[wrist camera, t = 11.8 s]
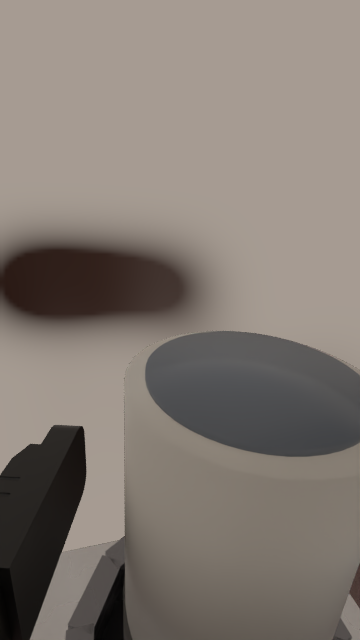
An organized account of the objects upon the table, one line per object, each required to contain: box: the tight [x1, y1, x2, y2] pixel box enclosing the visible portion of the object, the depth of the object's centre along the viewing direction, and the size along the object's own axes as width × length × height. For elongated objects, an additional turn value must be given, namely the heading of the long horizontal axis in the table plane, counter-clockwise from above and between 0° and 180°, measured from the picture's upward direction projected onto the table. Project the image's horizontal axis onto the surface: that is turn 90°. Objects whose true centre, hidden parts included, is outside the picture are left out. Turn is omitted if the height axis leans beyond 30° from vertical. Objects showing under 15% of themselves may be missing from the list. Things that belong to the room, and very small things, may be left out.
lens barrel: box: [123, 331, 360, 640], centre depth 8 cm, size 5×5×10 cm
